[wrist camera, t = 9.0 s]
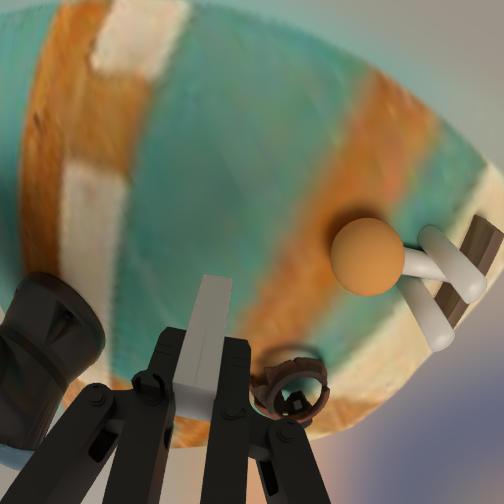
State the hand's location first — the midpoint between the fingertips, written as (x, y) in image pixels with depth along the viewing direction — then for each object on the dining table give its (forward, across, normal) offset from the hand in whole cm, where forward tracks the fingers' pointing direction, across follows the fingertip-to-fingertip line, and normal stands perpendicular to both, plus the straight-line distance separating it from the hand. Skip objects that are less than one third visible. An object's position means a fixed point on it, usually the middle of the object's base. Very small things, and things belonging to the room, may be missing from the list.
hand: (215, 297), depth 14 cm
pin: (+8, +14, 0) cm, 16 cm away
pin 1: (+9, +18, +3) cm, 20 cm away
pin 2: (+9, +18, -2) cm, 20 cm away
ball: (+6, +11, +1) cm, 12 cm away
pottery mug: (+10, +10, -19) cm, 23 cm away
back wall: (+9, +24, 0) cm, 25 cm away
